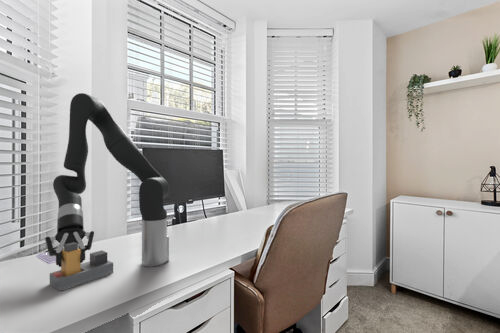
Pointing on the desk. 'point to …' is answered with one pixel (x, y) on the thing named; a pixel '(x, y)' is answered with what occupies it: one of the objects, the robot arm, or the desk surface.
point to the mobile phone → (47, 257)
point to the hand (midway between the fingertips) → (71, 263)
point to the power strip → (84, 272)
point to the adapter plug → (70, 259)
